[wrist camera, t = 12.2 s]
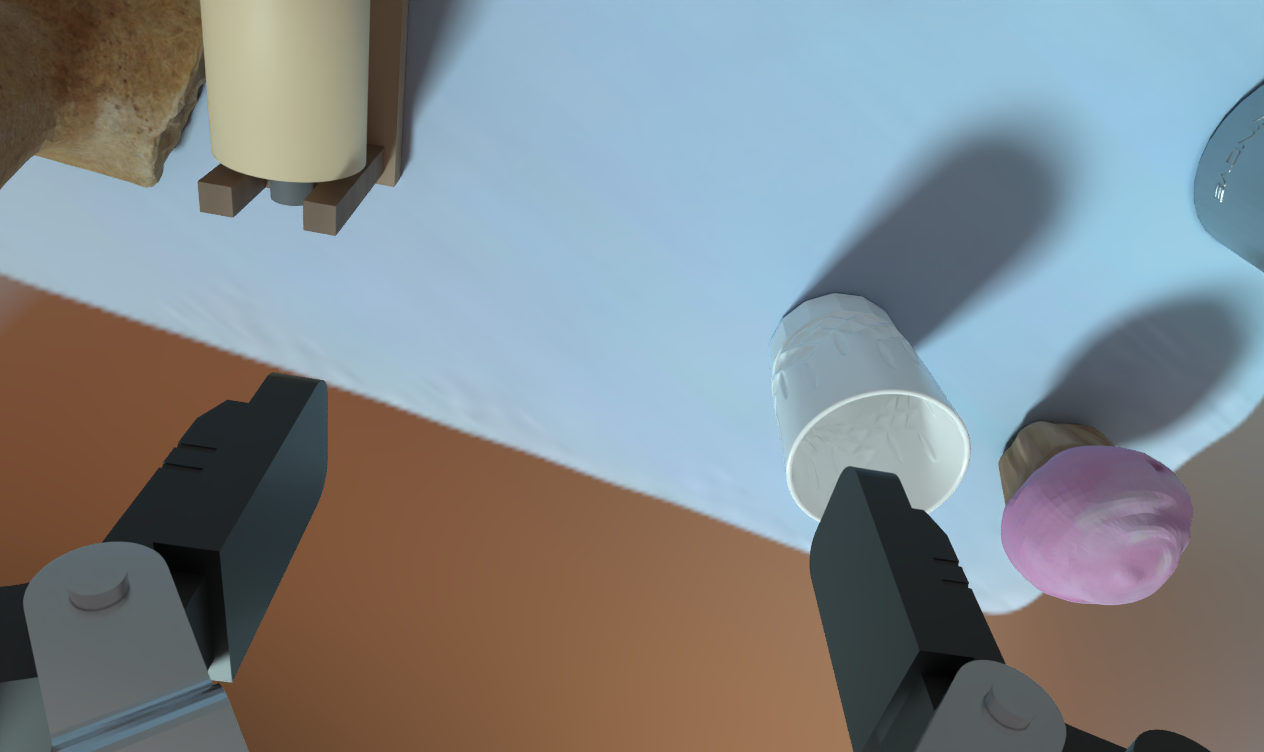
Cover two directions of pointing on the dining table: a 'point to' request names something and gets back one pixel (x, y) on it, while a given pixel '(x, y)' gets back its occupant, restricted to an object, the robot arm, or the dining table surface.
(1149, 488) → the cupcake
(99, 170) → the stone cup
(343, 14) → the cylinder
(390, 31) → the roll stand
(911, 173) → the dining table surface
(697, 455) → the dining table surface
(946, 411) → the white cup
